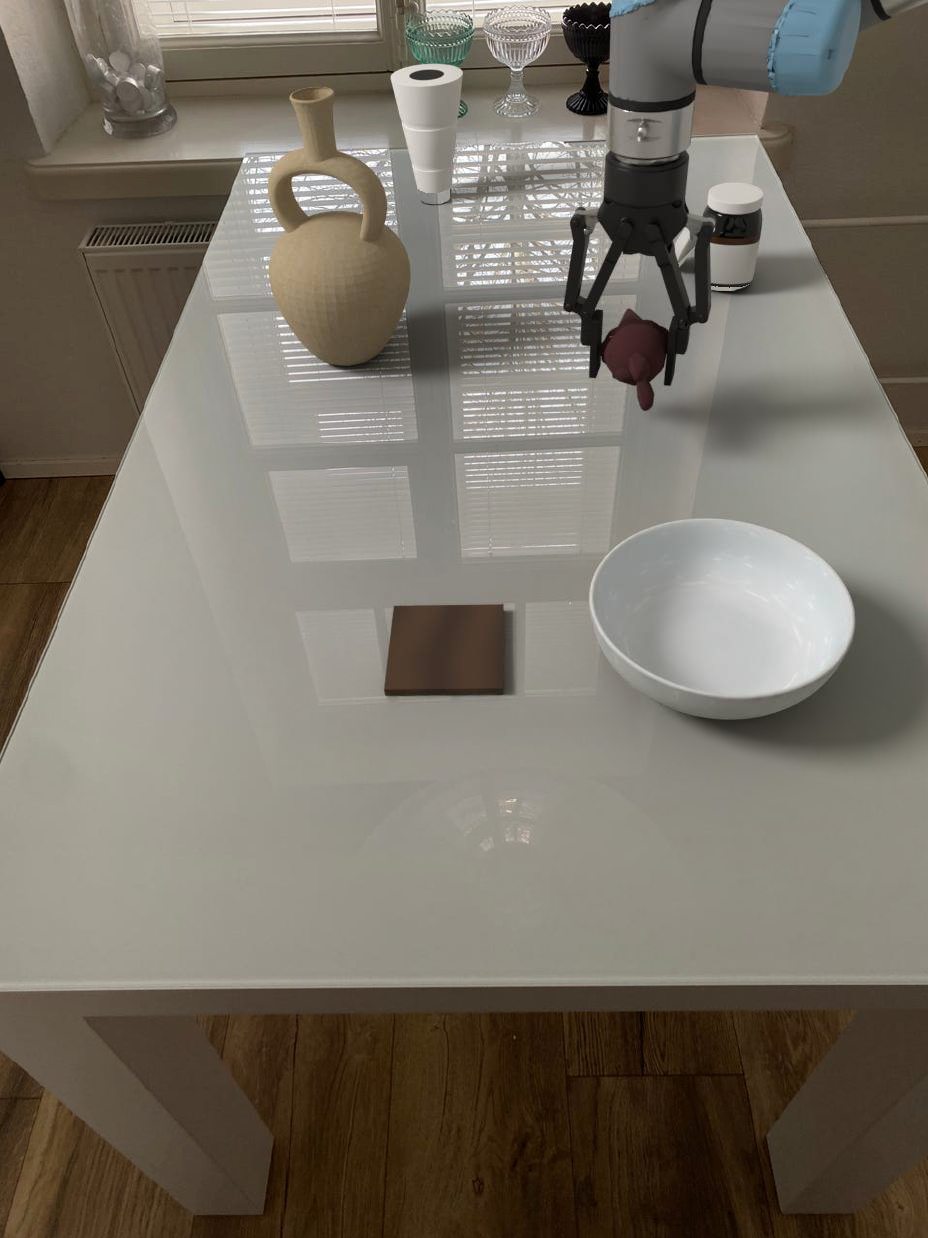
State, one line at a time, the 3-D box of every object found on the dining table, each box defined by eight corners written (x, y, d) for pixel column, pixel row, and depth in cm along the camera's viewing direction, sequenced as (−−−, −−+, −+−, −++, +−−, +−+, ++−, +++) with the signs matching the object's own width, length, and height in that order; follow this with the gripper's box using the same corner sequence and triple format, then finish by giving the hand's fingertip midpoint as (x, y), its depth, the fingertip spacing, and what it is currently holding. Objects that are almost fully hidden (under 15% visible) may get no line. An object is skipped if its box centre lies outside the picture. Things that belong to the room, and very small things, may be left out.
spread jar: (754, 298, 125) (769, 209, 117) (666, 296, 127) (675, 208, 119) (749, 257, 134) (764, 171, 125) (667, 255, 135) (676, 170, 127)
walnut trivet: (503, 610, 87) (503, 603, 87) (503, 694, 80) (503, 688, 80) (394, 611, 88) (393, 605, 87) (385, 695, 81) (384, 689, 80)
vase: (263, 379, 117) (204, 116, 96) (317, 314, 128) (274, 65, 107) (390, 396, 113) (358, 125, 92) (435, 327, 124) (415, 71, 103)
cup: (440, 180, 159) (432, 59, 146) (482, 198, 153) (477, 73, 140) (389, 199, 154) (376, 75, 142) (429, 218, 148) (420, 91, 136)
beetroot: (588, 291, 104) (598, 374, 94) (657, 272, 102) (674, 355, 92) (601, 344, 109) (612, 428, 99) (667, 327, 107) (684, 411, 97)
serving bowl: (745, 548, 91) (757, 491, 86) (889, 704, 77) (914, 646, 72) (546, 611, 87) (547, 554, 82) (661, 789, 73) (671, 733, 68)
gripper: (528, 160, 86) (531, 384, 102) (759, 171, 81) (724, 404, 98) (547, 131, 91) (547, 348, 107) (766, 139, 86) (731, 366, 103)
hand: (631, 374), depth 102 cm, fingers closed on beetroot, 7 cm apart
